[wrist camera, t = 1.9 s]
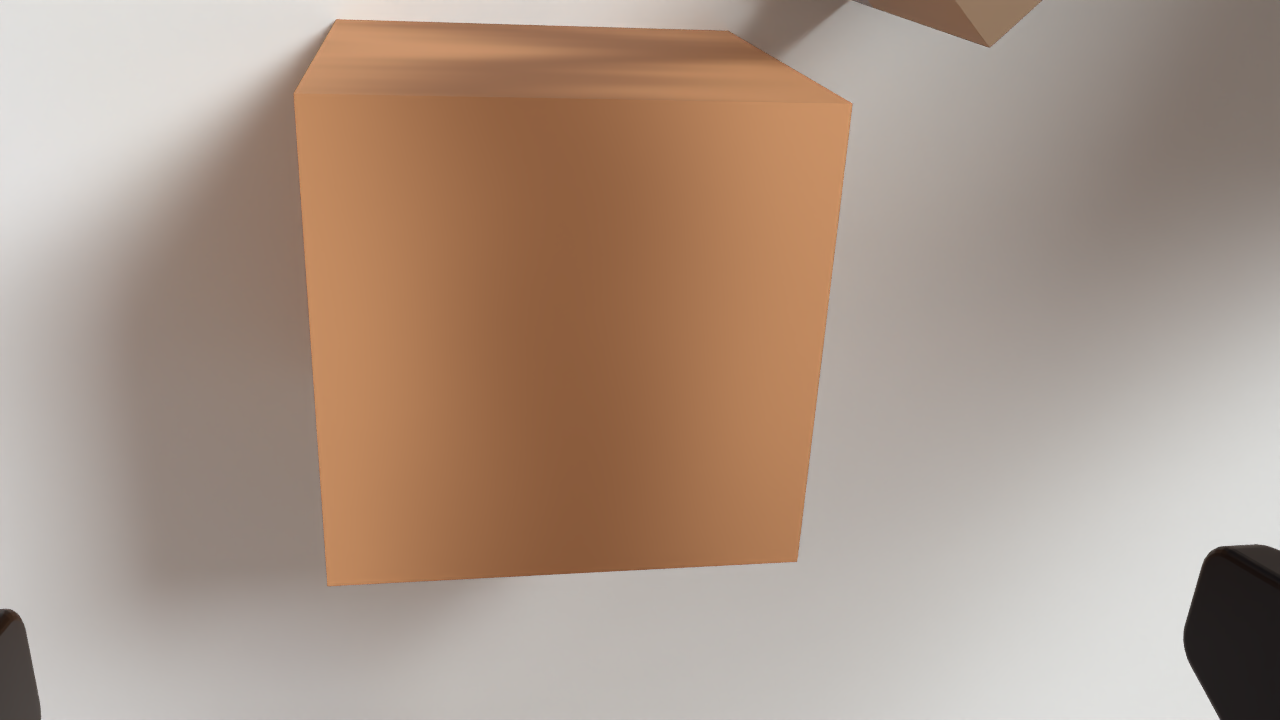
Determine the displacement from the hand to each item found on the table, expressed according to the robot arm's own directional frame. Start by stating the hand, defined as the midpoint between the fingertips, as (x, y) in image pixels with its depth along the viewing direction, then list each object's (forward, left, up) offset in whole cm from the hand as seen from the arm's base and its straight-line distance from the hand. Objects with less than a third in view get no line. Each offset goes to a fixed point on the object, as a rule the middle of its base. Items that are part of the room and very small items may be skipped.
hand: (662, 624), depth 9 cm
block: (0, 0, -11) cm, 11 cm away
